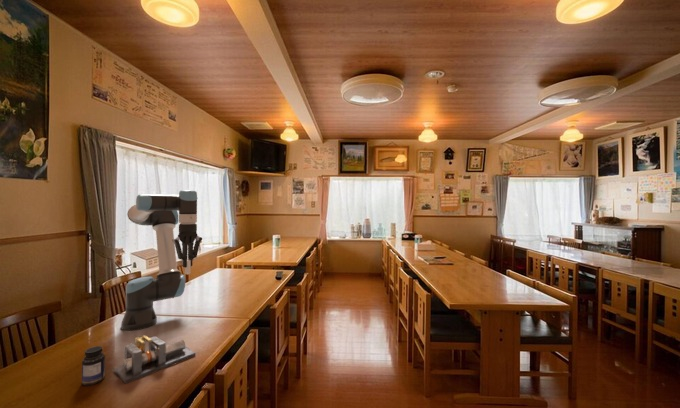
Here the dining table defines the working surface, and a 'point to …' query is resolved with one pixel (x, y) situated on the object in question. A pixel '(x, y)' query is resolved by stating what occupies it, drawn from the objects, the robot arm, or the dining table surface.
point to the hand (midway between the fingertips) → (187, 273)
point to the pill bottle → (93, 366)
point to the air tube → (151, 355)
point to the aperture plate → (141, 342)
